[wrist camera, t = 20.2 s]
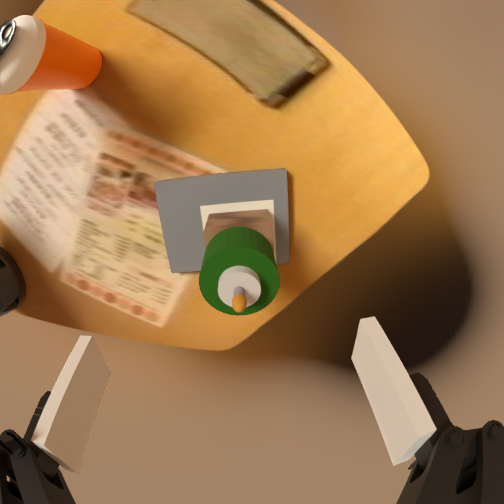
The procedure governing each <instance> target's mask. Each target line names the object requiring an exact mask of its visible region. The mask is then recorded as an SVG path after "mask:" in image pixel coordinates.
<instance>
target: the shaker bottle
mask: <svg viewBox="0 0 504 504" xmlns="http://www.w3.org/2000/svg"><path fill="white" fill-rule="evenodd" d="M101 66H102V56H101V54H100V52H99V51H98V49H96V48H95V47H93V46H91V45H89V44H87V43H85V42H83V41H81V40H79V39H77V38H75V37H73V36H71V35H69V34H67V33H65V32H63V31H60V30H58V29H56V28H54V27H52V26H49V25H47V24H45V23H44V22H43V21H42V20H41V19H39V18H35V17H32V16H29V15H22V16H19V17H17V18H14V19H13V20H8V21H6V22H4V23H3V24H2V25H1V26H0V94H11V93H14V92H16V91H29V90H50V89H82V88H85V87H86V86H88V85H90V84H91V83H92V82H93V81H94V80H95V79H96V77H97V76H98V74H99V72H100V69H101Z"/></svg>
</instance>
